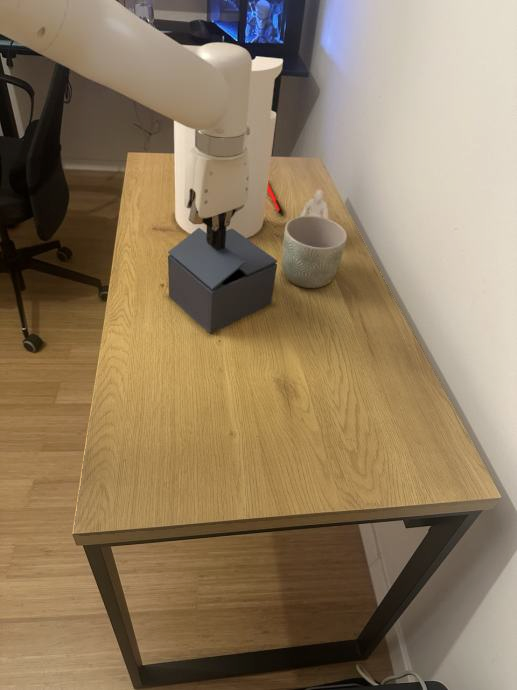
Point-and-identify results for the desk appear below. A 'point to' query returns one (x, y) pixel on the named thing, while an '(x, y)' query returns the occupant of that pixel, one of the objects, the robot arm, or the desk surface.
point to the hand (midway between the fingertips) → (215, 245)
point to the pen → (274, 200)
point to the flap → (206, 259)
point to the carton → (225, 286)
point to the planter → (312, 250)
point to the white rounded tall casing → (257, 147)
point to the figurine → (316, 206)
